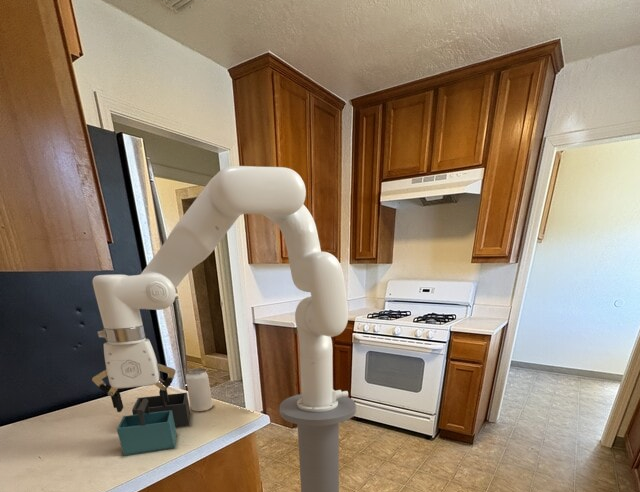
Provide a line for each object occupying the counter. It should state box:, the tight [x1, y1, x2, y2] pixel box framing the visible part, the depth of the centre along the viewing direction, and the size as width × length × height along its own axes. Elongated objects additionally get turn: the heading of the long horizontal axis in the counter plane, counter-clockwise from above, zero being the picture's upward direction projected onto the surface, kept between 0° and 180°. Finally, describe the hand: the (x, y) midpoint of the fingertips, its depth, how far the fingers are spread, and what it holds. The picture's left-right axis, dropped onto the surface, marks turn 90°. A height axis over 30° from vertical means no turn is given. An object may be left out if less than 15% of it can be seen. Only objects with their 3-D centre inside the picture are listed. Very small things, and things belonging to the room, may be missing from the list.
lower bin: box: [131, 392, 191, 429], centre depth 100 cm, size 13×10×7 cm
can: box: [185, 368, 213, 413], centre depth 108 cm, size 6×6×12 cm
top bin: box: [116, 399, 178, 457], centre depth 86 cm, size 11×8×11 cm
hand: (143, 407), depth 84 cm, fingers open, 9 cm apart
